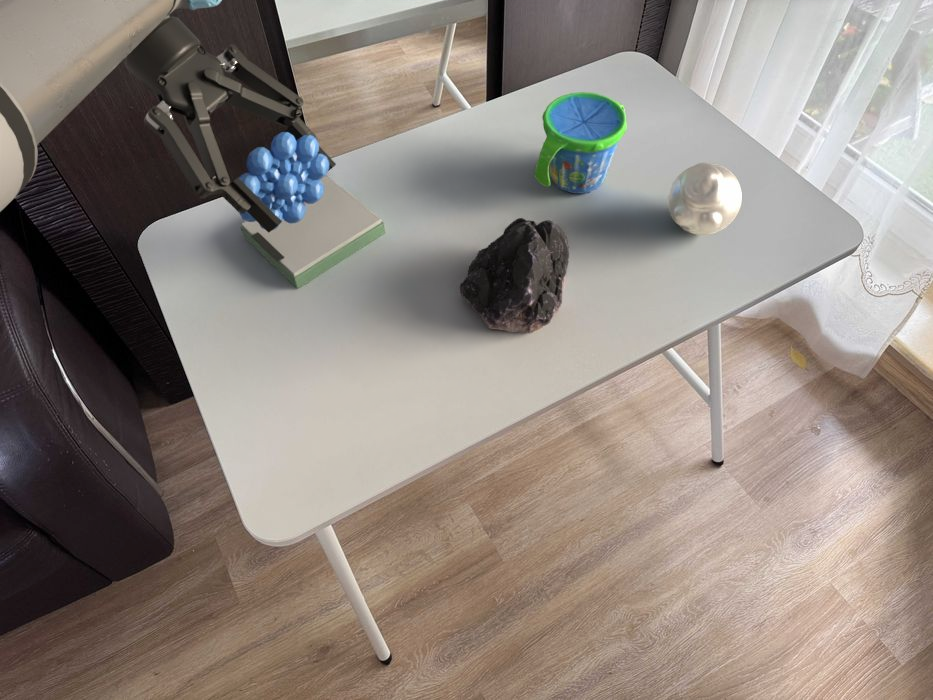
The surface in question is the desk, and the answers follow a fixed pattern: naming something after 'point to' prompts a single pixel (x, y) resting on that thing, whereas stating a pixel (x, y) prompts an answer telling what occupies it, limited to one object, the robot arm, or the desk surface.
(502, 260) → the dark rock
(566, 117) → the snack cup
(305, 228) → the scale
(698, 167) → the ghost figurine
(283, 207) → the grapes
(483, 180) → the desk surface
